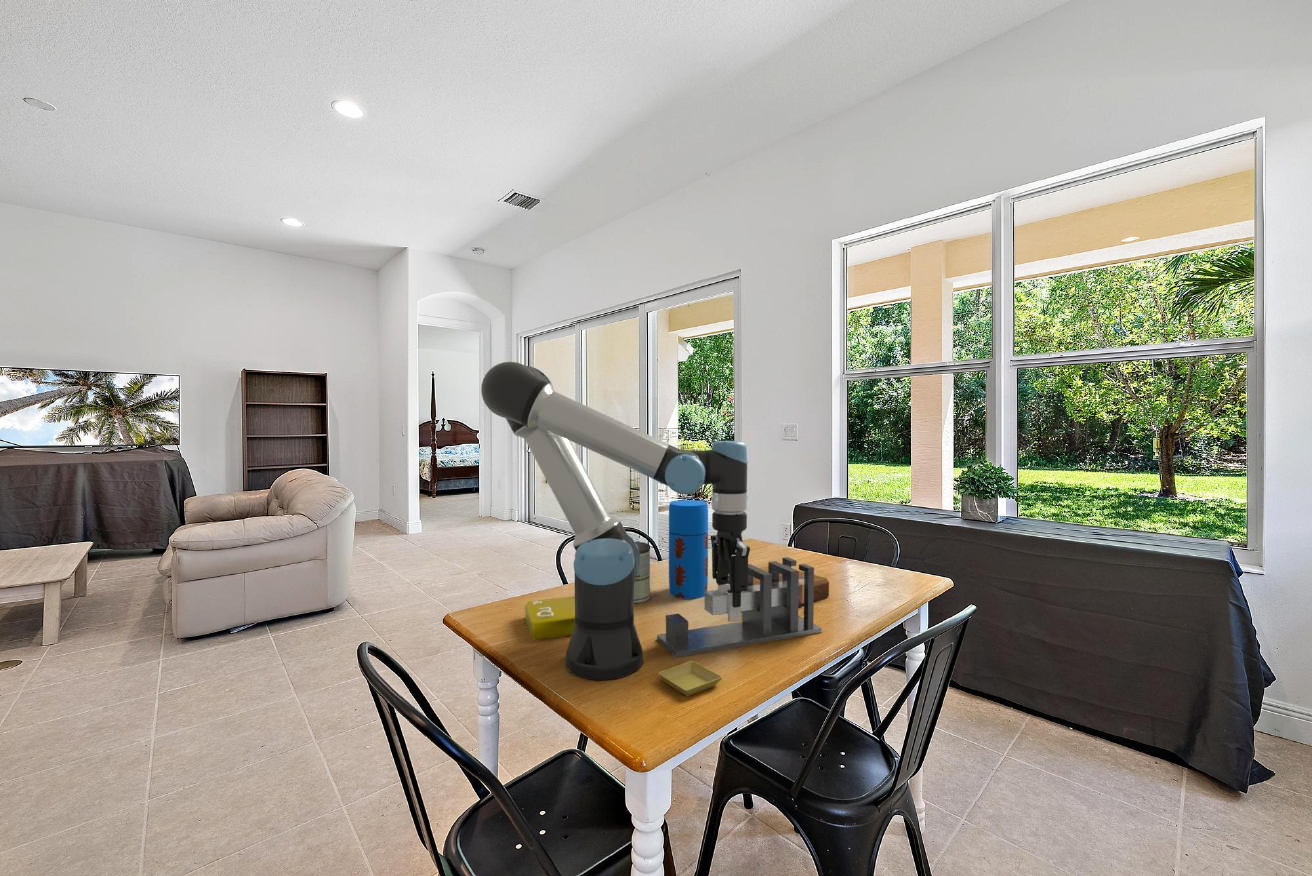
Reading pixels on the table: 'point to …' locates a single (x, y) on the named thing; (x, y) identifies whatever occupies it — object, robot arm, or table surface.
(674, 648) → the grey slotted frame stand
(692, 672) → the saucer
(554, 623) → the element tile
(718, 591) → the light grey square rod
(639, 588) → the coffee can
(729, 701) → the table surface
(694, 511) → the thermos
